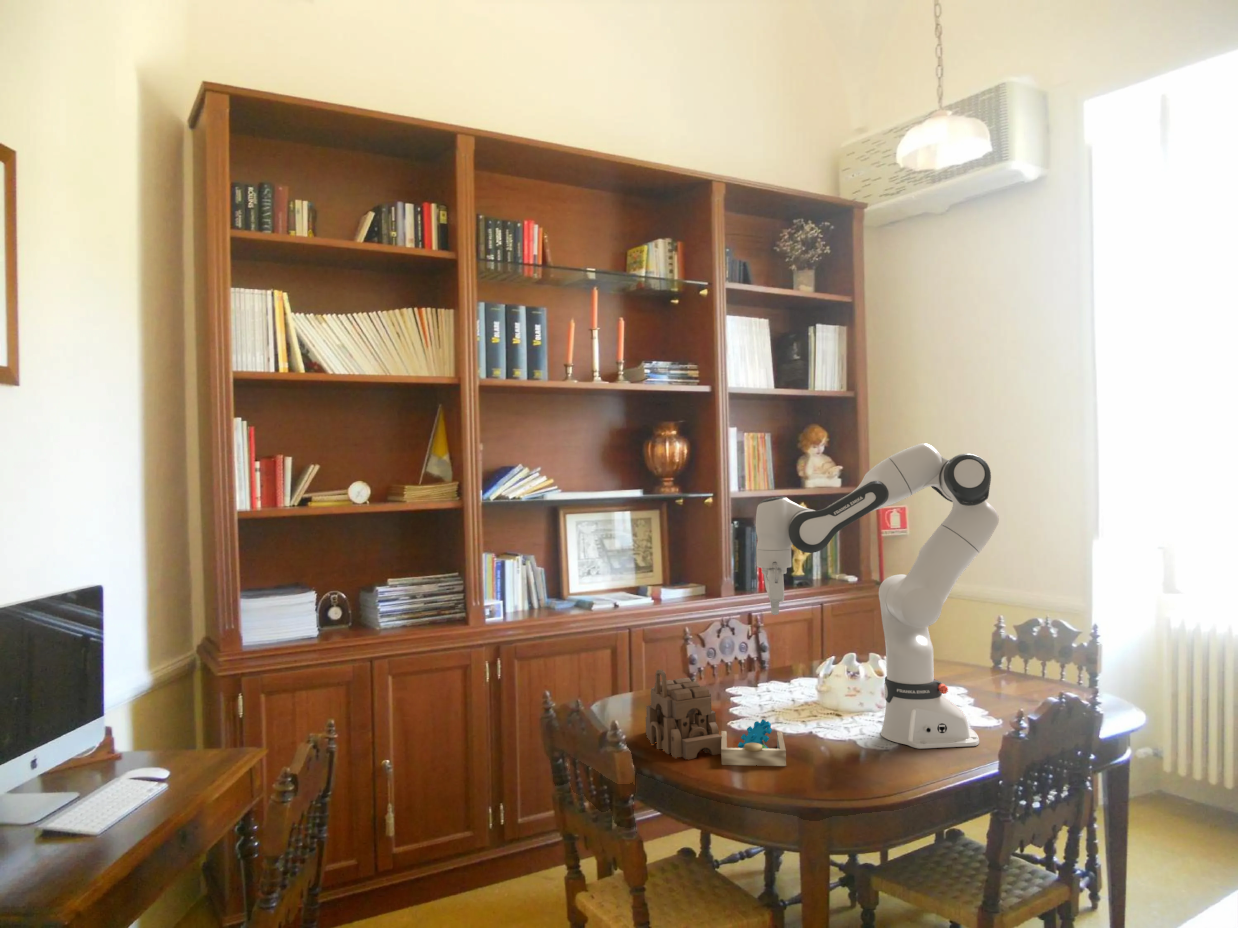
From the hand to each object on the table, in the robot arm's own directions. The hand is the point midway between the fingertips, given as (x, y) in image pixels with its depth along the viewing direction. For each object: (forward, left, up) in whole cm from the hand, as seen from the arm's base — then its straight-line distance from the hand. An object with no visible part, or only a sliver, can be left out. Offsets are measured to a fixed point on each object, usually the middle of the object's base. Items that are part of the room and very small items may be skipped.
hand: (775, 613), depth 223 cm
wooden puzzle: (+24, +14, -30) cm, 40 cm away
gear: (+6, +21, -29) cm, 37 cm away
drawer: (+7, +22, -29) cm, 37 cm away
